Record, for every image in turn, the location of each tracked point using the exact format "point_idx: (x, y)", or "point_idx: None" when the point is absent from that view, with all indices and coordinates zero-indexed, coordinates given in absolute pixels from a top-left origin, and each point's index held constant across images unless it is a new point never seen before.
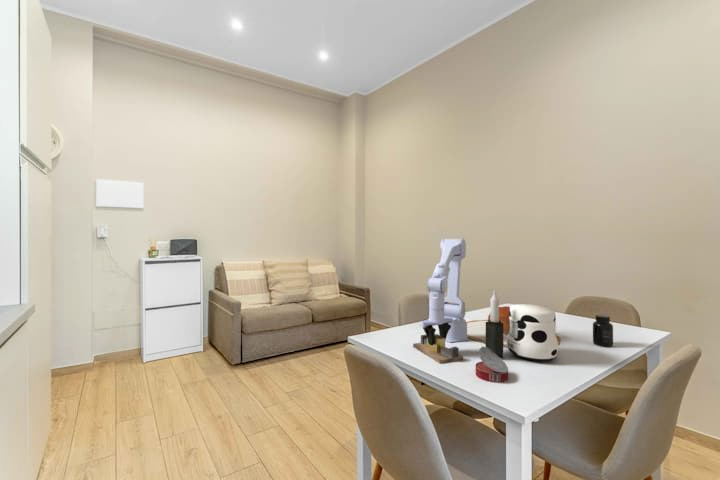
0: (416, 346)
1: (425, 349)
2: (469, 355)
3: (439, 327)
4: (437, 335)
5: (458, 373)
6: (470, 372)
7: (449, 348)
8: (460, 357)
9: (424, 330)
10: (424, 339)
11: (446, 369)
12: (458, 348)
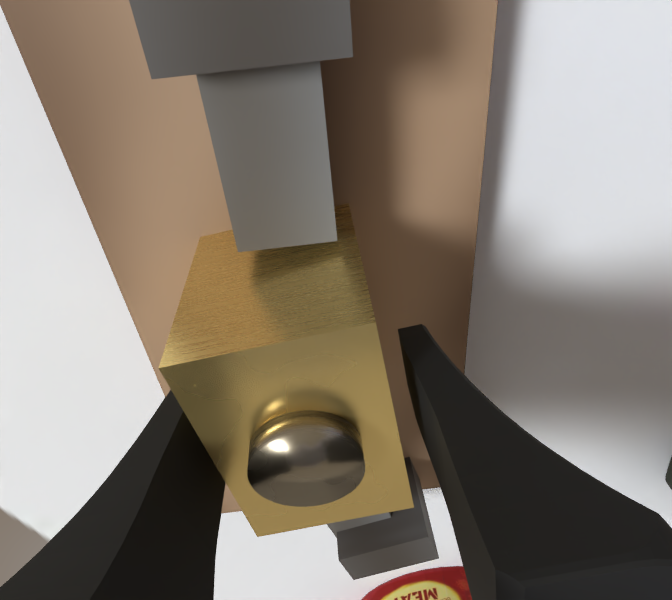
0: (47, 101)
1: (160, 285)
2: (576, 401)
3: (470, 533)
4: (323, 491)
5: (276, 583)
6: (354, 580)
7: (339, 559)
8: (426, 484)
9: (16, 586)
10: (201, 91)
11: (227, 548)
12: (436, 550)
